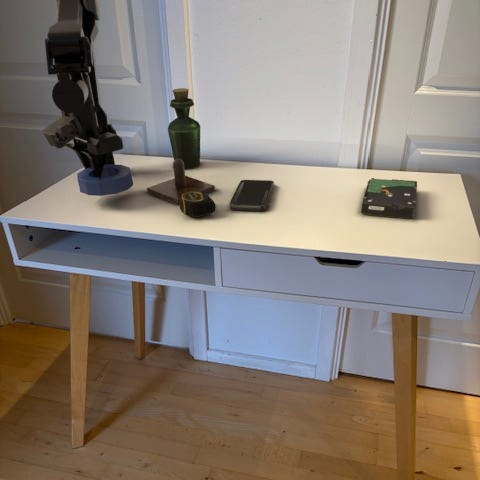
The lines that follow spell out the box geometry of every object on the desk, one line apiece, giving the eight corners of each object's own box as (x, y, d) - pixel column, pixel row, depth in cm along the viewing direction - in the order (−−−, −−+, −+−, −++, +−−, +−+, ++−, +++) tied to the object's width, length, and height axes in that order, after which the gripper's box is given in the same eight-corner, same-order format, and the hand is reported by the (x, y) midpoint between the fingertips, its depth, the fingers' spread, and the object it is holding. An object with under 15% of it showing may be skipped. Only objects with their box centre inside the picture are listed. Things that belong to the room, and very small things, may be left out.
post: (147, 192, 112) (142, 159, 108) (184, 179, 119) (181, 148, 114) (178, 205, 106) (174, 170, 102) (215, 190, 112) (213, 157, 108)
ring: (70, 187, 107) (66, 174, 105) (113, 174, 113) (110, 161, 112) (99, 199, 100) (96, 185, 99) (143, 184, 107) (141, 171, 105)
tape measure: (217, 217, 100) (216, 199, 98) (184, 222, 99) (182, 204, 96) (208, 205, 105) (207, 188, 103) (177, 209, 104) (175, 192, 102)
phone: (228, 204, 102) (241, 179, 114) (229, 209, 103) (241, 184, 115) (266, 206, 101) (275, 180, 113) (266, 211, 101) (275, 185, 113)
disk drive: (414, 221, 96) (415, 192, 108) (416, 207, 95) (417, 179, 106) (360, 216, 99) (366, 188, 110) (361, 202, 97) (368, 176, 108)
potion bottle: (205, 168, 125) (200, 91, 114) (173, 172, 123) (165, 94, 113) (200, 159, 131) (194, 85, 121) (170, 162, 130) (161, 88, 119)
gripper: (20, 103, 101) (40, 177, 110) (66, 116, 90) (84, 198, 99) (69, 93, 107) (84, 165, 116) (118, 105, 96) (130, 183, 105)
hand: (94, 177), depth 109 cm, fingers closed on ring, 2 cm apart
